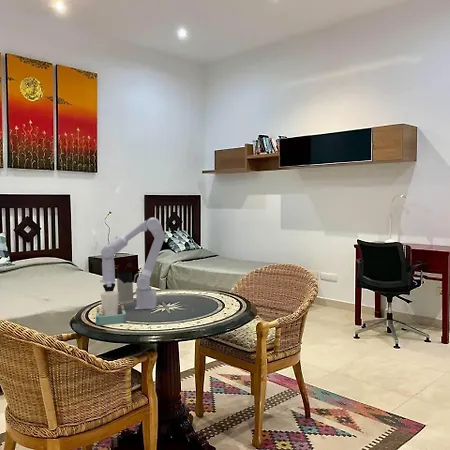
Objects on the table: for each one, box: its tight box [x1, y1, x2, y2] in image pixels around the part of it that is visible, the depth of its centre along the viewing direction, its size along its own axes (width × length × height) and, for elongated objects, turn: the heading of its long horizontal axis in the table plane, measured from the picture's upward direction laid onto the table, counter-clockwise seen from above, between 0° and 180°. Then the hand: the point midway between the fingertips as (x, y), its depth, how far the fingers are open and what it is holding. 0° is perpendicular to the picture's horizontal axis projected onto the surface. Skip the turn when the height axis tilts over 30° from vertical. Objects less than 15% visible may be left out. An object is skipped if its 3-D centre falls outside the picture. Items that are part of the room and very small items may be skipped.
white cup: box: [100, 290, 119, 316], centre depth 205 cm, size 8×8×10 cm
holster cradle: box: [96, 304, 125, 314], centre depth 206 cm, size 12×8×3 cm, turn 105°
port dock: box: [95, 309, 127, 326], centre depth 193 cm, size 12×8×4 cm, turn 105°
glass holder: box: [116, 271, 141, 305], centre depth 232 cm, size 9×14×15 cm, turn 127°
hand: (109, 299), depth 214 cm, fingers closed
